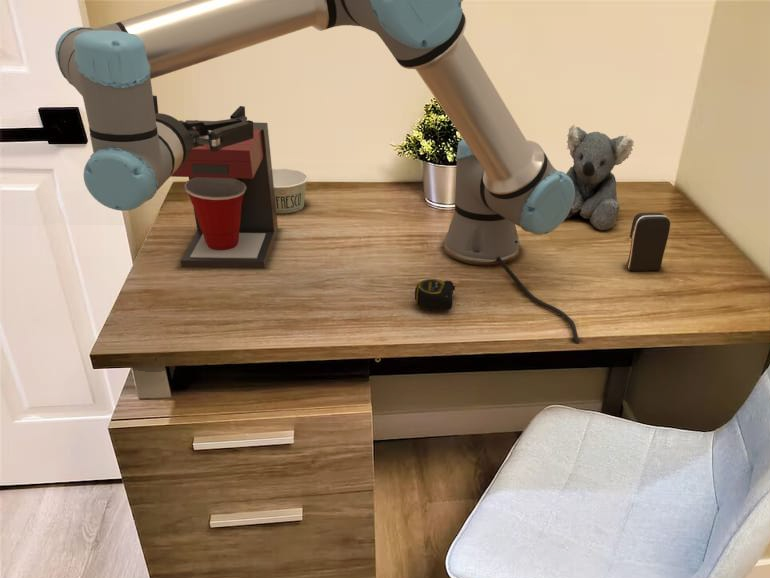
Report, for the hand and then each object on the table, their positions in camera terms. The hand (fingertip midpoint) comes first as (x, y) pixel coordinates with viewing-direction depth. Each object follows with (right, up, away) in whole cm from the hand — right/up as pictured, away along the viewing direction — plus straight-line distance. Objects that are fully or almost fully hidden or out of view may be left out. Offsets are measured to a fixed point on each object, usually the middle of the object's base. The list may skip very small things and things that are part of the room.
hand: (199, 109), depth 118 cm
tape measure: (+38, -31, +12) cm, 50 cm away
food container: (+1, -6, +46) cm, 46 cm away
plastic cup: (-4, -18, +24) cm, 30 cm away
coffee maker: (-4, -18, +27) cm, 32 cm away
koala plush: (+69, -6, +53) cm, 87 cm away
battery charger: (+78, -22, +30) cm, 86 cm away
